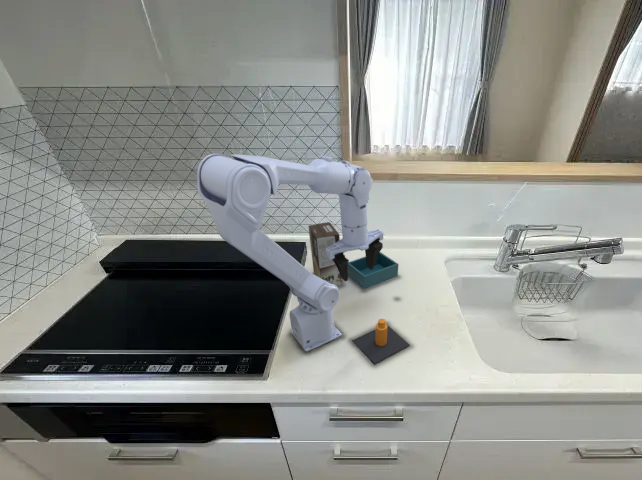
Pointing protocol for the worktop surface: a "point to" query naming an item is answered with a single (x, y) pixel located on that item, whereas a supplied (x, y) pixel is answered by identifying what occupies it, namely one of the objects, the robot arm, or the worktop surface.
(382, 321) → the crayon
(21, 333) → the worktop surface
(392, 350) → the mat
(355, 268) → the teal open bin
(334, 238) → the coffee box
